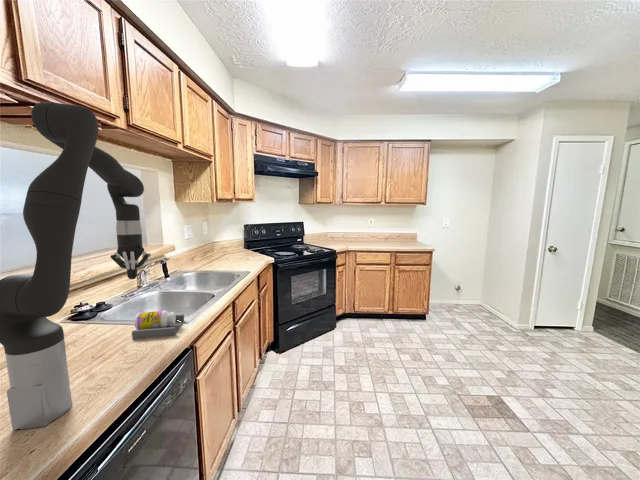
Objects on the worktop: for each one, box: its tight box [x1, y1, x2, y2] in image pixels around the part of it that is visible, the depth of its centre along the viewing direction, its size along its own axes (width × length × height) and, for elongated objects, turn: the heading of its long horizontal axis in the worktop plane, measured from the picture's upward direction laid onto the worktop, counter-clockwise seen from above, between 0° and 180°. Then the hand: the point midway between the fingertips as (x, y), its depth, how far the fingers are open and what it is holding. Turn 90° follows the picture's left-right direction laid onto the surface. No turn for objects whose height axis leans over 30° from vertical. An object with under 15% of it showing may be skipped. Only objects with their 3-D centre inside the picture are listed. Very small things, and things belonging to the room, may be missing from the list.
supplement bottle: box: [134, 310, 177, 330], centre depth 105 cm, size 7×7×13 cm
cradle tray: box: [131, 313, 185, 340], centre depth 105 cm, size 13×14×3 cm
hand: (132, 278), depth 100 cm, fingers closed
